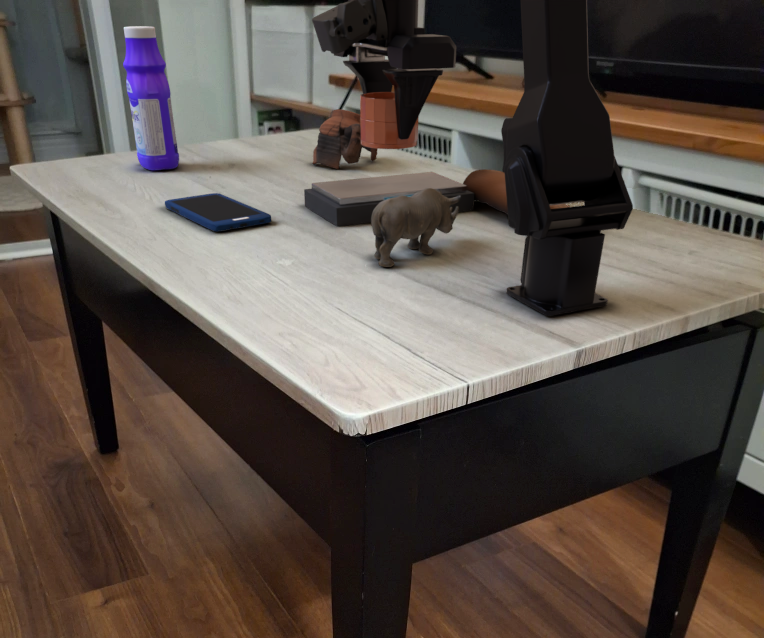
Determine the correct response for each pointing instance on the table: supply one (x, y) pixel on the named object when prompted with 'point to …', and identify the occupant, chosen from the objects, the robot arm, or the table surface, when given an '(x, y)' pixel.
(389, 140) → the cup
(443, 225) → the rhino figurine
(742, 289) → the table surface
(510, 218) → the robot arm
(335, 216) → the scale
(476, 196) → the sunglasses case
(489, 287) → the table surface
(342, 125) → the brown irregular curved piece
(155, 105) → the bottle
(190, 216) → the cell phone
